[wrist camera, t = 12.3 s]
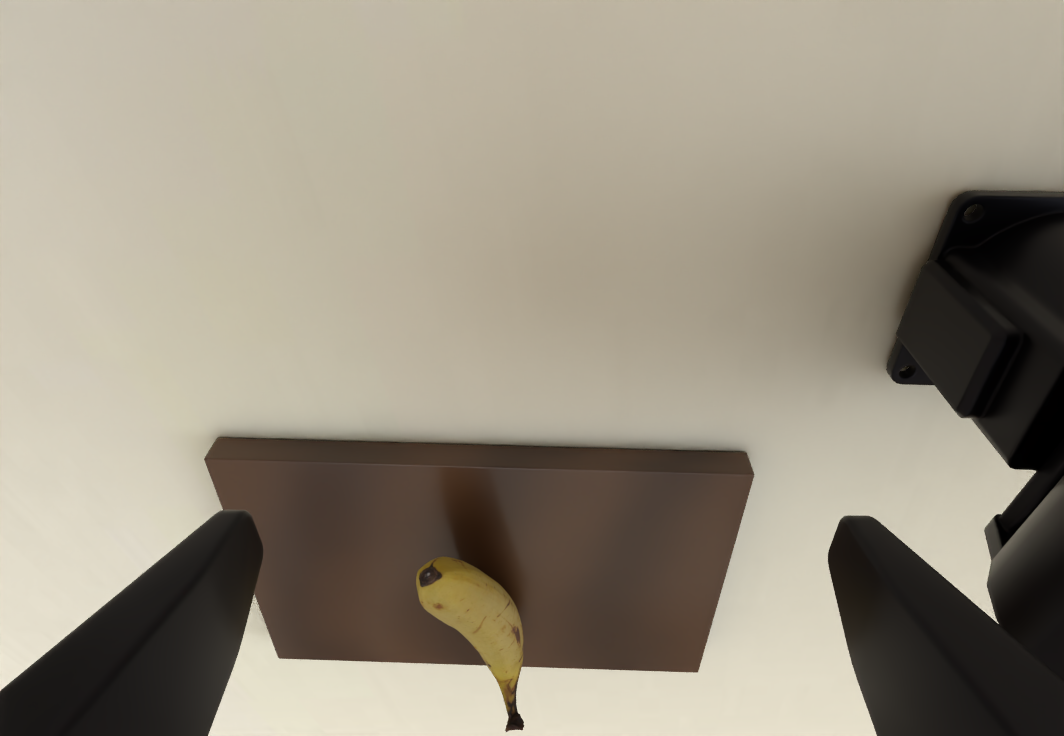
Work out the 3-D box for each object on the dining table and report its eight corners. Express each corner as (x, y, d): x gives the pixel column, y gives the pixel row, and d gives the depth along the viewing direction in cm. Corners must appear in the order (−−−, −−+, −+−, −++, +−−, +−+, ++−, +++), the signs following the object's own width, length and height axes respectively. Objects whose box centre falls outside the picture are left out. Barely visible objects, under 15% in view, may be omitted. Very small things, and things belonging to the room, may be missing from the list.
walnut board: (747, 451, 25) (754, 474, 24) (694, 649, 32) (698, 672, 31) (216, 437, 25) (203, 458, 24) (286, 636, 33) (278, 659, 32)
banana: (413, 501, 25) (392, 591, 22) (473, 490, 25) (460, 580, 21) (493, 649, 31) (486, 738, 27) (544, 642, 30) (542, 732, 27)
